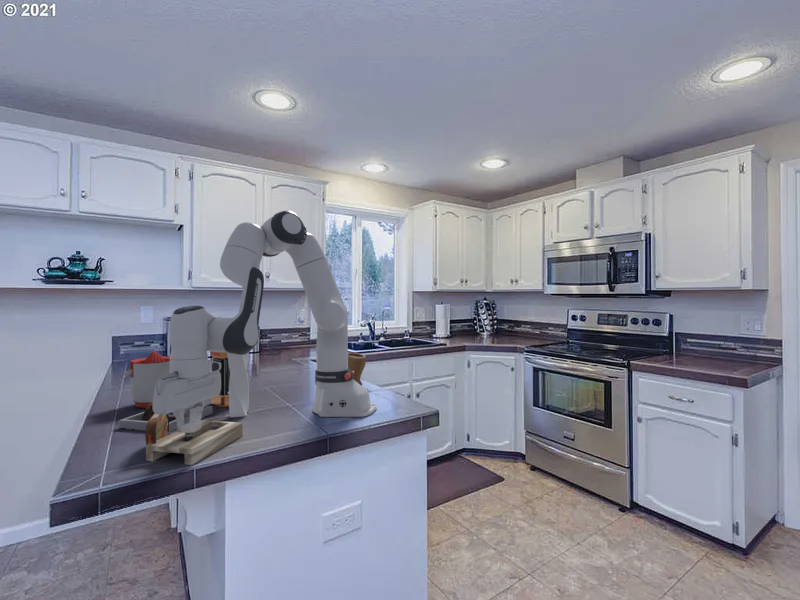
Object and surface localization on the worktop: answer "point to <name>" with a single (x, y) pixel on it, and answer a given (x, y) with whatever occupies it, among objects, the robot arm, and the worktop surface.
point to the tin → (157, 428)
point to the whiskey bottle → (222, 379)
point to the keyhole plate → (196, 442)
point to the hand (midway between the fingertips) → (189, 421)
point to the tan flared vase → (356, 365)
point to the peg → (191, 421)
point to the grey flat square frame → (138, 424)
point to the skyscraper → (238, 385)
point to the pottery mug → (148, 412)
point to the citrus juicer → (146, 377)
